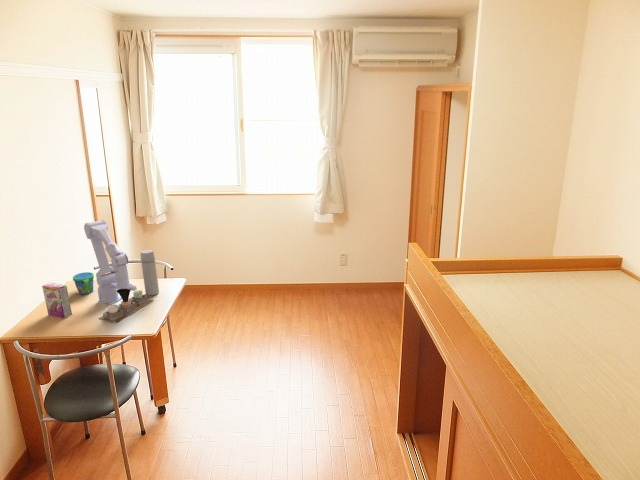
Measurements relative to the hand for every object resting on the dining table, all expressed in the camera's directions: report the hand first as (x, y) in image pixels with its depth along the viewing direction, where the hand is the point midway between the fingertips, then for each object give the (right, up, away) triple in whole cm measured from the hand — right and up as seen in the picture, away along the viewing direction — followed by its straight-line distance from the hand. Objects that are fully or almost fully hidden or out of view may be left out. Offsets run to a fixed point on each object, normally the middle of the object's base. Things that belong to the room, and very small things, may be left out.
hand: (125, 301), depth 232 cm
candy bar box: (-32, -7, -4) cm, 33 cm away
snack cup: (-32, +2, +23) cm, 40 cm away
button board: (0, -4, +1) cm, 5 cm away
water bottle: (+5, +2, +21) cm, 22 cm away
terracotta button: (0, -4, +1) cm, 4 cm away
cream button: (-3, -5, -7) cm, 9 cm away
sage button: (+3, 0, +9) cm, 9 cm away
